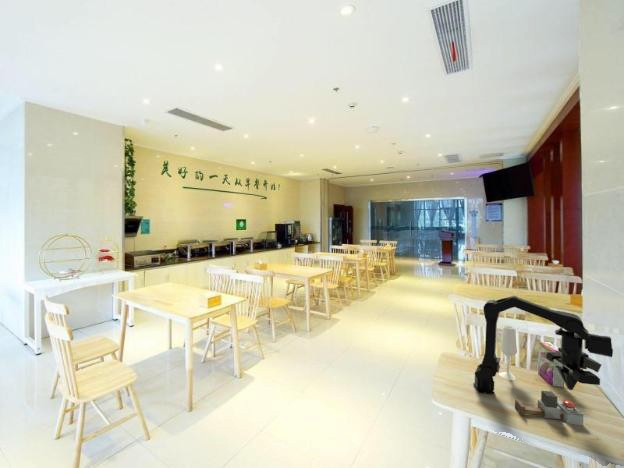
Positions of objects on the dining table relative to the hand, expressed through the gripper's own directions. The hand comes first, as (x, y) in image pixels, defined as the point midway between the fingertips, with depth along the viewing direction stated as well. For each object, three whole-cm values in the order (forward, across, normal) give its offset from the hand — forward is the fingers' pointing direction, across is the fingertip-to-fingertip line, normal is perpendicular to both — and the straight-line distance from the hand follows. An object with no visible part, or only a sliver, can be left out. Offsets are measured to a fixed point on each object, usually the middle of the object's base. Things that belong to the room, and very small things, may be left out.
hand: (570, 389), depth 104 cm
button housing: (+11, 0, 0) cm, 11 cm away
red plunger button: (+11, 0, 0) cm, 11 cm away
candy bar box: (+11, +28, -10) cm, 31 cm away
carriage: (+11, 0, +7) cm, 13 cm away
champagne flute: (+11, +28, +8) cm, 31 cm away
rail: (+11, 0, +10) cm, 15 cm away
